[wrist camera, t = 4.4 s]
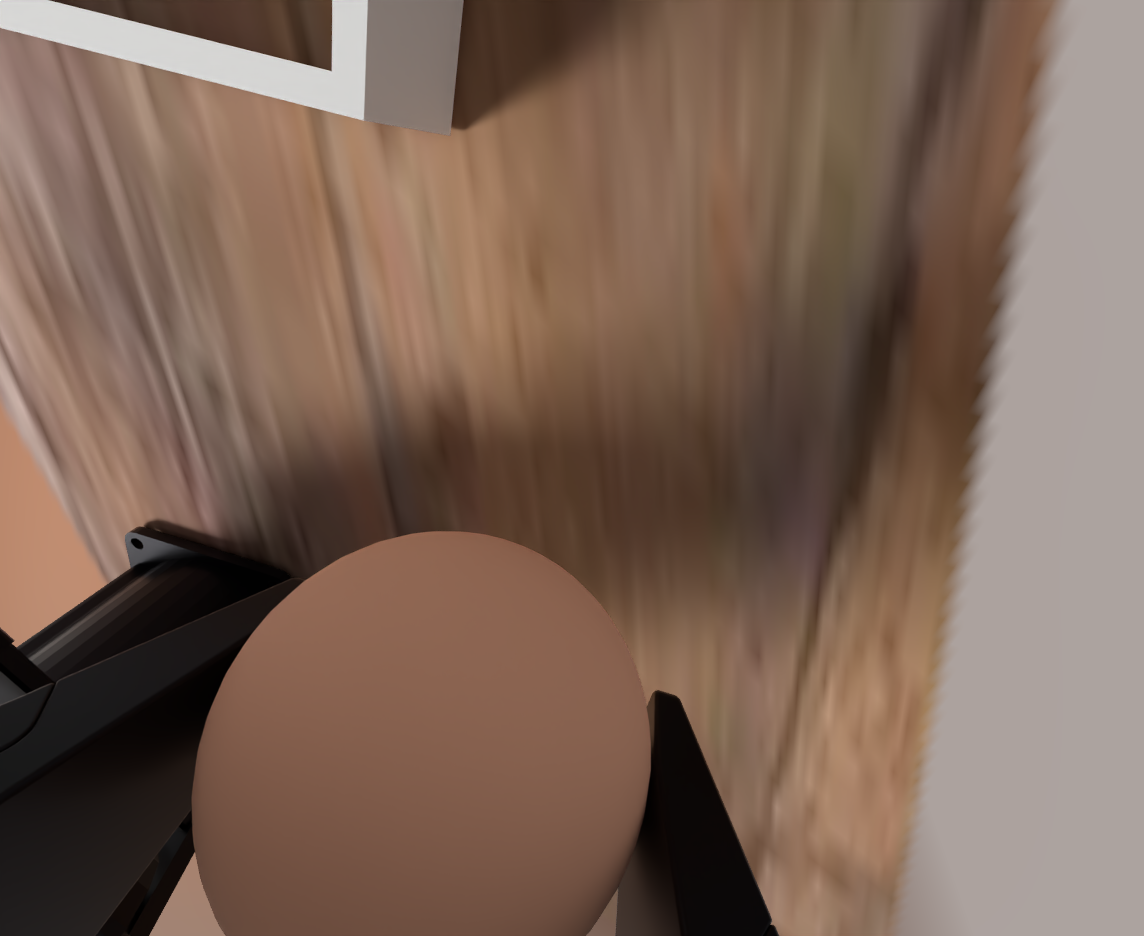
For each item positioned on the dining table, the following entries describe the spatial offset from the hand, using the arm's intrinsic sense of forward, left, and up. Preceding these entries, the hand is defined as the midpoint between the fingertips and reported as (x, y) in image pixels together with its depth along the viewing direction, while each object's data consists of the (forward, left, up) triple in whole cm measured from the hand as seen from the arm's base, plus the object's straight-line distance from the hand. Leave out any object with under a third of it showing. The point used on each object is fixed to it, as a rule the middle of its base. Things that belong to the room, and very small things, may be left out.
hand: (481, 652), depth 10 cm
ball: (0, 0, -1) cm, 1 cm away
